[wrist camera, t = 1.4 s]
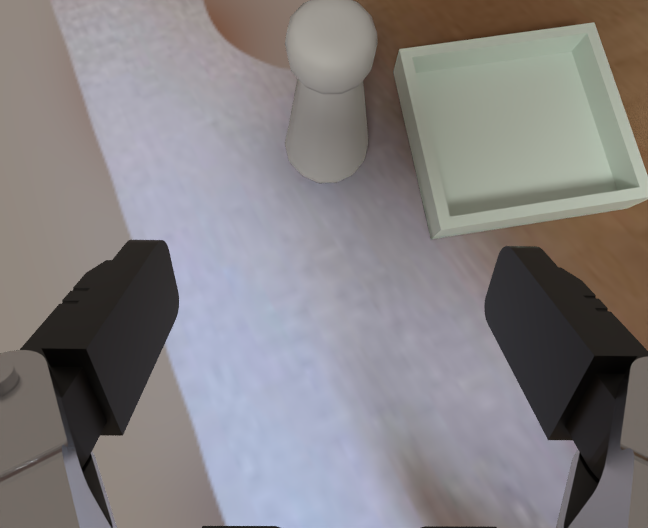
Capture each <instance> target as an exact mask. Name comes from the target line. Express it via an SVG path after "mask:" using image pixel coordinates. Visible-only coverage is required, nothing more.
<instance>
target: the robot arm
mask: <svg viewBox="0 0 648 528" xmlns="http://www.w3.org/2000/svg"><path fill="white" fill-rule="evenodd" d="M595 296H596V295H595V294H594V293H593V292H592V291H591V290H590V289H589V288H588V287H587V286H586V285H585V284H584V283H583V281H582V280H580V279H578V278H577V277H575V276H574V275H572V274H570V273H569V272H567V271H566V270H564V269H562V268H558V267H557V265H556V264H555V263H554V262H553V261H552V260H551V259H550V258H549V256H548V255H547V254H546V253H545V252H544V251H543V250H542V249H541V248H540V247H526V246H505V247H503V248H502V250H501V251H500V253H499V255H498V259H497V262H496V265H495V268H494V272H493V275H492V278H491V281H490V285H489V288H488V291H487V294H486V298H485V317H486V320H487V323H488V325H489V327H490V329H491V331H492V333H493V335H494V336H495V338H496V340H497V342H498V344H499V346H500V348H501V350H502V352H503V354H504V356H505V358H506V360H507V362H508V363H509V365H510V367H511V369H512V371H513V373H514V375H515V377H516V379H517V381H518V383H519V385H520V387H521V389H522V390H523V392H524V394H525V396H526V398H527V400H528V402H529V404H530V406H531V408H532V410H533V412H534V414H535V415H536V417H537V419H538V421H539V423H540V425H541V427H542V429H543V431H544V433H545V435H546V437H547V439H548V440H573V441H574V443H575V444H576V446H577V448H578V450H577V452H576V453H575V455H574V456H573V459H572V462H571V466H570V471H569V475H568V479H567V483H566V487H565V492H564V496H563V500H562V504H561V508H560V513H559V517H558V521H557V525H556V528H648V351H647V350H646V349H645V348H644V347H643V346H642V345H641V343H640V342H639V341H638V340H637V339H636V338H635V337H634V336H633V335H632V334H631V333H630V332H629V331H628V330H627V329H626V327H625V326H624V325H623V324H622V323H621V322H620V321H619V320H618V319H617V318H616V317H615V316H614V315H613V314H612V312H608V311H607V309H608V308H607V307H606V306H605V305H604V304H603V303H602V302H601V301H600V300H599V299H596V298H595ZM178 308H179V294H178V289H177V285H176V280H175V276H174V271H173V267H172V262H171V258H170V253H169V249H168V246H167V244H166V243H165V241H163V240H129V241H128V242H127V243H126V244H125V245H124V246H123V247H122V249H121V250H120V251H119V252H118V254H117V255H116V256H115V257H114V259H113V260H106V261H104V262H103V263H101V264H100V265H98V266H97V267H95V268H93V269H92V270H90V271H89V272H87V273H86V274H85V275H84V276H83V277H82V278H81V279H80V281H79V282H78V283H77V284H76V285H75V286H74V289H73V291H70V292H69V293H68V295H67V296H66V297H65V298H64V299H63V303H62V304H59V305H58V306H57V307H56V308H55V310H54V311H53V312H52V313H51V314H50V315H49V316H48V318H47V319H46V320H45V321H44V322H43V323H42V325H41V326H40V327H39V328H38V329H37V330H36V332H35V333H34V334H33V335H32V336H31V337H30V339H29V340H28V341H27V342H26V343H25V344H24V345H23V347H22V348H21V349H20V350H16V351H9V352H4V353H0V528H117V526H116V523H115V520H114V517H113V513H112V510H111V507H110V503H109V501H108V497H107V494H106V491H105V487H104V484H103V481H102V478H101V475H100V471H99V468H98V465H97V462H96V459H95V456H94V454H93V452H92V450H93V448H94V446H95V444H96V442H97V440H98V438H99V436H100V435H123V434H124V431H125V429H126V427H127V425H128V422H129V421H130V418H131V416H132V414H133V412H134V409H135V407H136V405H137V403H138V401H139V399H140V396H141V394H142V392H143V390H144V388H145V385H146V383H147V381H148V379H149V377H150V374H151V372H152V370H153V368H154V366H155V364H156V361H157V359H158V357H159V354H160V352H161V350H162V348H163V346H164V344H165V342H166V339H167V337H168V335H169V333H170V331H171V328H172V326H173V324H174V322H175V320H176V317H177V314H178ZM202 528H280V527H276V526H203V527H202ZM422 528H497V527H422Z"/></svg>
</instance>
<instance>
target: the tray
mask: <svg viewBox="0 0 648 528" xmlns="http://www.w3.org/2000/svg"><path fill="white" fill-rule="evenodd" d="M393 73H394V78H395V82H396V87H397V91H398V95H399V100H400V104H401V109H402V113H403V118H404V122H405V127H406V131H407V136H408V140H409V144H410V149H411V153H412V158H413V162H414V167H415V171H416V176H417V180H418V184H419V189H420V193H421V198H422V202H423V207H424V211H425V216H426V220H427V225H428V229H429V233H430V238H431V239H438V238H444V237H450V236H457V235H463V234H469V233H476V232H482V231H488V230H495V229H501V228H507V227H514V226H520V225H526V224H532V223H539V222H545V221H551V220H558V219H564V218H570V217H577V216H583V215H589V214H596V213H602V212H608V211H615V210H621V209H627V208H629V207H632V206H634V205H636V204H638V203H641V202H643V201H645V200H647V199H648V176H647V173H646V170H645V167H644V164H643V161H642V158H641V156H640V153H639V150H638V147H637V144H636V141H635V138H634V135H633V132H632V130H631V127H630V124H629V121H628V118H627V115H626V112H625V109H624V106H623V104H622V101H621V98H620V95H619V92H618V89H617V86H616V83H615V81H614V78H613V75H612V72H611V69H610V66H609V63H608V60H607V57H606V55H605V52H604V49H603V46H602V43H601V40H600V37H599V34H598V32H597V29H596V26H595V23H587V24H580V25H572V26H565V27H558V28H550V29H543V30H536V31H529V32H521V33H514V34H507V35H499V36H492V37H485V38H477V39H470V40H463V41H455V42H448V43H441V44H434V45H426V46H419V47H412V48H404V49H399V52H398V56H397V60H396V63H395V67H394V71H393Z"/></svg>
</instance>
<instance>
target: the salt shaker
mask: <svg viewBox="0 0 648 528" xmlns="http://www.w3.org/2000/svg"><path fill="white" fill-rule="evenodd" d="M285 46H286V51H287V55H288V60H289V64H290V68H291V71H292V73H293V74H294V75H295V76H296V77H297V78H298V79H297V85H296V90H295V95H294V100H293V106H292V111H291V116H290V121H289V126H288V131H287V135H286V140H285V146H286V150H287V155H288V159H289V161H290V163H291V164H292V165H293V166H294V167H295V168H296V169H297V171H298V172H299V173H300V174H301V175H302V176H304V177H306V178H308V179H311V180H313V181H315V182H317V183H320V184H322V183H337V182H339V181H341V180H343V179H345V178H348V177H350V176H352V175H353V174H354V173H355V171H356V170H357V169H358V168H359V167H360V165H361V164H362V163H363V161H364V160H365V156H366V152H367V147H368V130H367V119H366V108H365V96H364V85H363V80H364V78H365V77H366V76H367V75H368V74H369V72H370V71H371V69H372V65H373V61H374V57H375V52H376V48H377V32H376V29H375V25H374V22H373V19H372V16H371V15H370V14H369V13H368V12H367V11H366V10H365V9H364V8H363V7H362V6H361V5H360V4H359V3H358V2H356V1H353V0H310V1H308V2H305V3H303V4H302V5H301V6H300V7H299V8H298V10H296V12H295V13H294V14H293V15H292V16H291V17H290V22H289V26H288V30H287V33H286V41H285Z"/></svg>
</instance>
